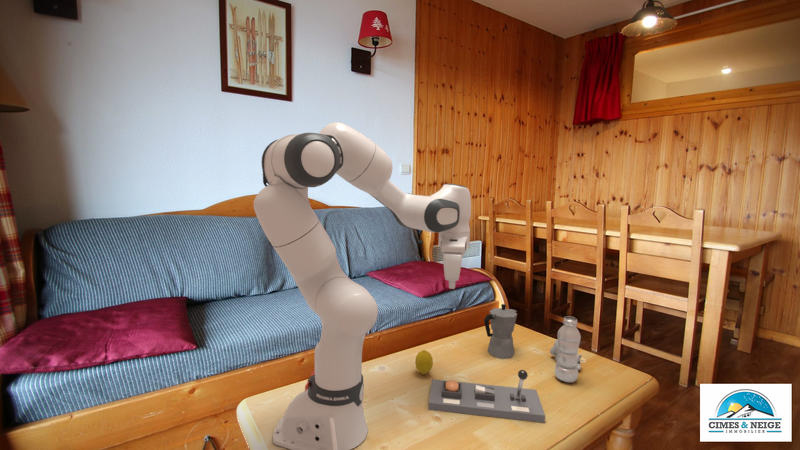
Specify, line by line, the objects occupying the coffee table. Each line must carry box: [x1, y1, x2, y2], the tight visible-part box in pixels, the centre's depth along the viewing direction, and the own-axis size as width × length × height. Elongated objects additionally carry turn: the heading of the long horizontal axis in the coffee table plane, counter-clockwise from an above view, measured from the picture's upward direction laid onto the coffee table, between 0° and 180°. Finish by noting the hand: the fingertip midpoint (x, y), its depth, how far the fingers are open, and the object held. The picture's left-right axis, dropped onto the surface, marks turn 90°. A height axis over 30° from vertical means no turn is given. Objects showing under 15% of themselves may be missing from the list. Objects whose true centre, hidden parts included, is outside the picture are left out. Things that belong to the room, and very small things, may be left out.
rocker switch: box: [475, 385, 494, 394], centre depth 106 cm, size 5×2×1 cm, turn 82°
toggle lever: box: [515, 369, 528, 399], centre depth 102 cm, size 2×2×12 cm
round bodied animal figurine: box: [549, 338, 583, 372], centre depth 129 cm, size 7×12×8 cm, turn 13°
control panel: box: [428, 378, 546, 424], centre depth 107 cm, size 30×12×4 cm, turn 81°
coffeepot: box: [483, 303, 518, 360], centre depth 135 cm, size 15×9×18 cm, turn 122°
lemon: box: [414, 349, 434, 375], centre depth 121 cm, size 6×6×8 cm
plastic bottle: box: [554, 315, 582, 384], centre depth 118 cm, size 6×7×20 cm
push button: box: [445, 379, 459, 392], centre depth 108 cm, size 4×4×2 cm
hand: (452, 287), depth 112 cm, fingers closed
